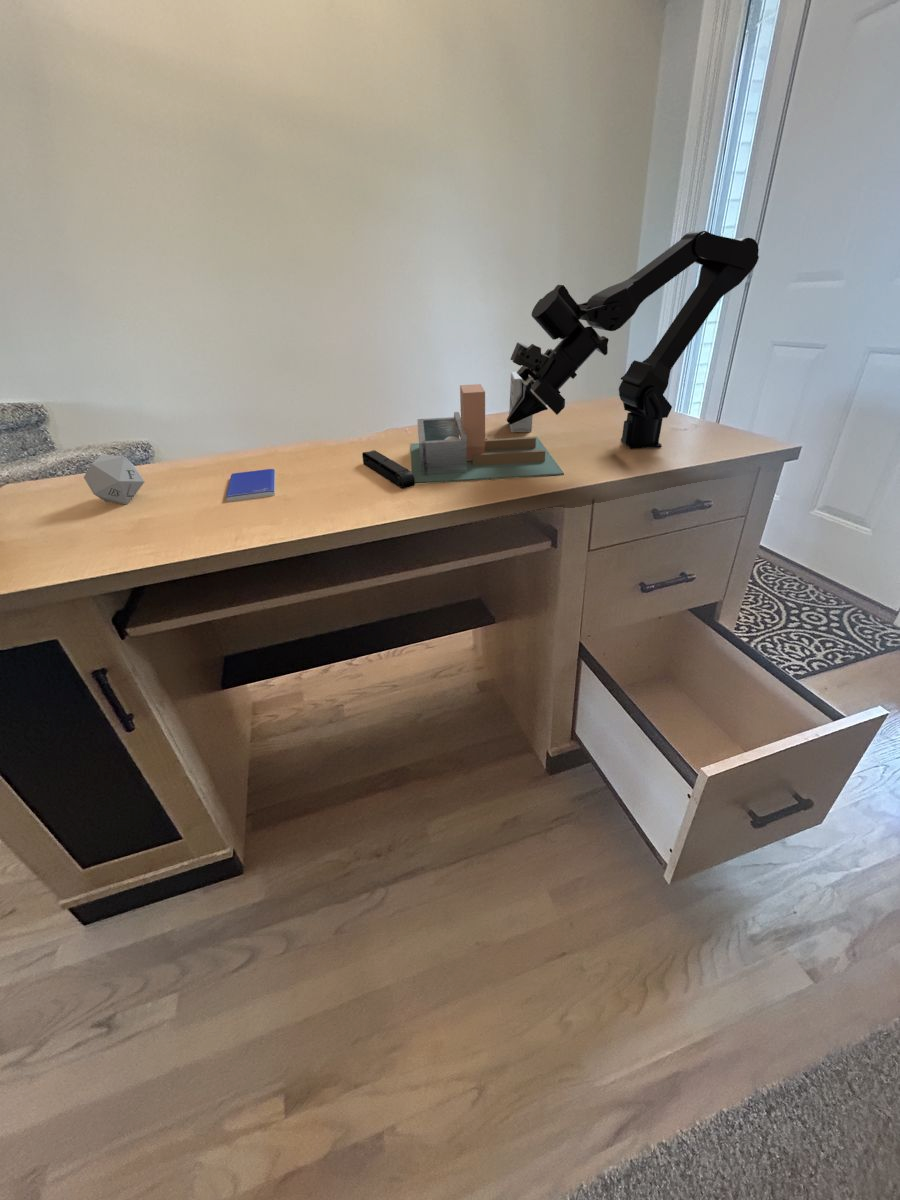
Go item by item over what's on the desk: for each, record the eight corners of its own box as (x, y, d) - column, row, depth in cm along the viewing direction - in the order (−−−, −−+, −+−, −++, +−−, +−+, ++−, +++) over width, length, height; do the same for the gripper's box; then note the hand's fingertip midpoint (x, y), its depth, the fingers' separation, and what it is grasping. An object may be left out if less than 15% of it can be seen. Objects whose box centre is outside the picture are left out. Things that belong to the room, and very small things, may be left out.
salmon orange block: (480, 450, 110) (480, 384, 102) (485, 461, 104) (485, 391, 97) (461, 451, 109) (460, 385, 102) (464, 462, 103) (463, 392, 96)
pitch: (536, 437, 117) (537, 427, 116) (563, 474, 97) (564, 462, 96) (410, 445, 116) (410, 434, 115) (411, 484, 96) (410, 471, 95)
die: (99, 517, 90) (119, 470, 87) (66, 486, 92) (84, 439, 88) (141, 515, 98) (160, 472, 95) (110, 487, 99) (128, 443, 96)
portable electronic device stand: (415, 488, 95) (414, 472, 94) (403, 491, 94) (401, 475, 92) (374, 462, 108) (372, 448, 107) (362, 465, 107) (360, 450, 106)
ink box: (508, 423, 129) (509, 371, 122) (529, 422, 128) (531, 370, 122) (511, 433, 121) (512, 378, 115) (533, 432, 121) (536, 377, 115)
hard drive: (273, 489, 94) (274, 468, 104) (225, 496, 92) (230, 473, 102) (275, 498, 94) (275, 475, 105) (227, 504, 93) (232, 481, 103)
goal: (459, 445, 114) (458, 411, 110) (467, 472, 99) (466, 435, 96) (419, 447, 113) (416, 414, 110) (421, 475, 99) (418, 437, 95)
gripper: (528, 319, 102) (473, 384, 108) (550, 330, 87) (484, 405, 92) (566, 360, 107) (511, 420, 113) (593, 378, 91) (528, 447, 97)
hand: (508, 422), depth 103 cm, fingers closed
